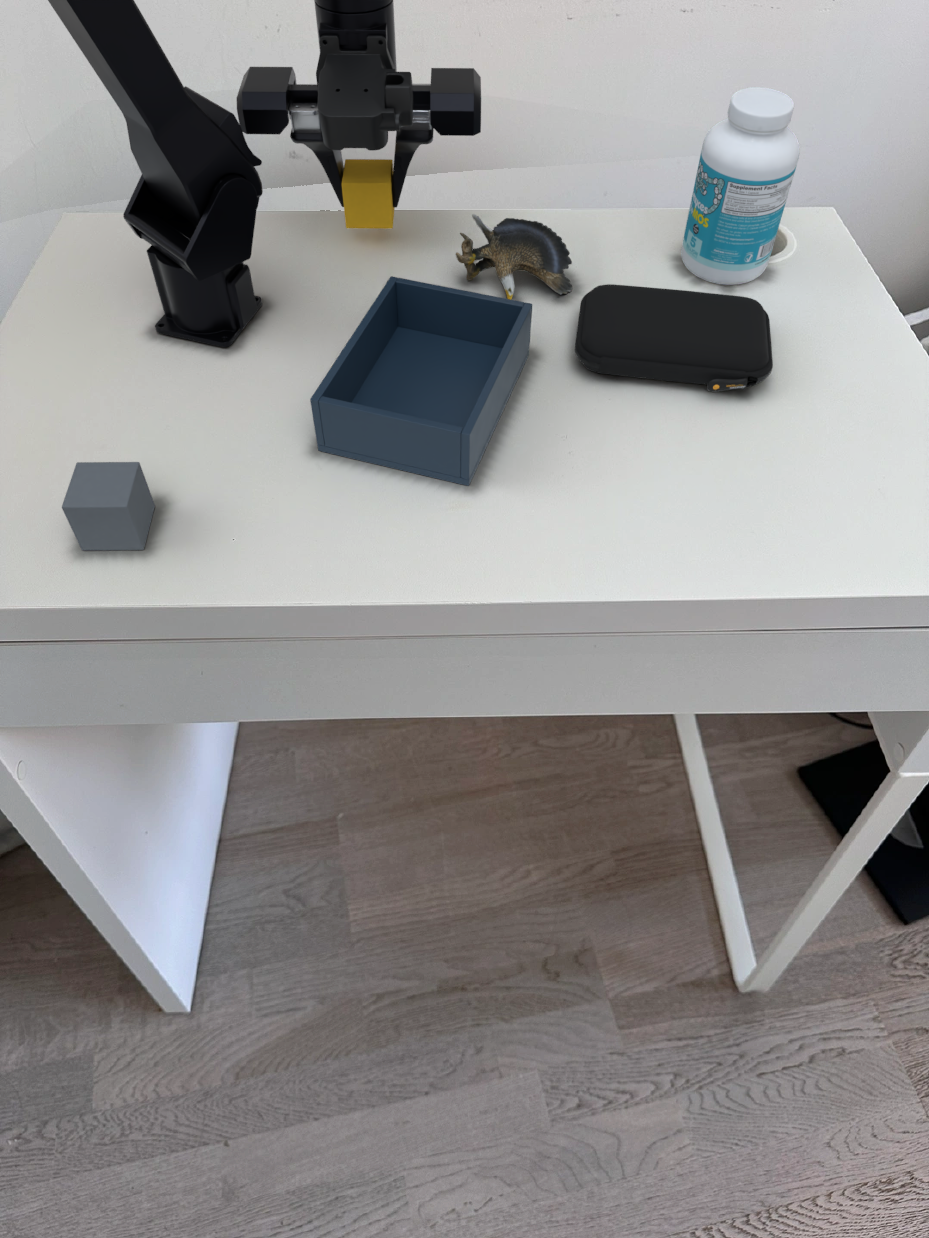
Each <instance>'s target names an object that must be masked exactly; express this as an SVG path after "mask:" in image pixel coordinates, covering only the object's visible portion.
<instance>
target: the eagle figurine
mask: <svg viewBox="0 0 929 1238" xmlns="http://www.w3.org/2000/svg"><path fill="white" fill-rule="evenodd" d="M471 218H472V219H473V221H474V222H475V224H476V226H477V227H478V228H479V229H480V230H481V232H482V234H483V235H484V237H485V239H486V240H487V243H486V244H484V245H482V246H479V247H476V248H475V247H474V240H473V239H471V237H469V236H468V235H467V234H465V233H463V232H459V235H460V236H461V238H463V241H462V242H461V254H460V253H459V252H455V257H456V260H457V261H458V263H460V264H463V266H464V268H465V269H466V276H465V277H466V280H467V282H470V281H473V280H474V278H476V277H477V276H478V275H479V274H480V273H481V272H482V271H484V270H488V269H491V268H494V269H495V274H496V275H497V277H498V279H499V281H500V283H501V284H502V286H503V289H504V292H505V294H506V299H511V300H513V296H514V294H515V280H514V272H518V271H522V272H526V273H528V274H529V275H532V276H534V277H535V278H537V279H539V280H540V281H542V282H543V283H544V284H545V285H547V286H548V287H549V288H550V289H551V290H552V291H554V292H555V293H556V294H557V295H559V296H562V295H563V294H564V295H567V294H568V293H571V292H572V291H573V288H574V285H573V284H572V283H571V282H572V281H571V279H570V278H568V277H567V276H566V274H565V273H564V270H568V269H569V267H570V265H572V264H573V261H572V259H571V257H570V254H571V253H570V250H569V249H568V248H567V244H566V243H565V242H564V241H563V237H561V235H558V233H557V232H555V231H554V230H553V229H552V228H551V227H548V225H546V224H543V222H539V221H536V220H530V219H529V220H527V219H524V218H521V219H520V218H514V217H505V218H504V219H503V220H501V221H499V223H497V224H496V225H495V226H494V227H493V229H492V228H490V227H489V226H488V225H487V224H485V223H484V222H483V220H482V218H480V216H479V215H477V214H475V213H472V214H471ZM475 261H477V262H476V263H475Z"/></svg>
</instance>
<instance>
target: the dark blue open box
mask: <svg viewBox="0 0 929 1238" xmlns="http://www.w3.org/2000/svg"><path fill="white" fill-rule="evenodd" d="M532 316H533V303H532V302H531V303H530V302H525V301H519V300H515V299H512V300H511V299H507V298H505V297H500V296H495V295H489V294H485V293H479V292H473V291H469V290H465V289H458V288H453V287H448V286H444V285H439V284H433V283H428V282H424V281H418V280H412V279H408V278H402V277H397V276H389V278H388V280H387V281H386V283H385V284H384V286H383V287H382V289H381V290H380V292H379V294H378V295H377V297H376V298H375V300H374V301H373V303H371V306H370V307H369V309H368V310H367V312H366V313H365V314H364V317H363V318H362V319H361V321H360V323H359V324H358V325H357V327H356V328H355V330H354V331H353V333H352V335H351V336H350V338H349V339H348V341H347V342H346V344H345V345H344V347H343V348H342V350H341V351H340V353H339V355H338V356H337V358H335V360H334V362H333V364H332V365H331V367H330V368H329V370H328V371H327V373H326V374H325V376H324V377H323V379H322V380H321V382H320V383H319V385H318V386H317V388H316V389H315V391H314V393H313V394H312V396H311V397H310V399H309V400H310V401H309V402H310V409H311V415H312V420H313V427H314V432H315V434H314V435H315V440H316V445H317V450H318V452H323V453H327V454H331V455H336V456H339V457H344V458H348V459H353V460H357V461H360V462H364V463H369V464H374V465H378V466H383V467H387V468H391V469H395V470H399V471H404V472H408V473H411V474H416V475H421V476H424V477H428V478H433V479H437V480H441V481H446V482H451V483H455V484H459V485H463V486H467V487H469V486H470V485H471V482H472V480H473V478H474V476H475V473H476V472H477V469H478V467H479V465H480V463H481V460H482V459H483V456H484V454H485V452H486V449H487V447H488V445H489V444H490V441H491V439H492V437H493V435H494V432H495V430H496V428H497V425H498V424H499V421H500V419H501V418H502V415H503V412H504V410H505V408H506V406H507V404H508V401H509V399H510V397H511V395H512V393H513V391H514V388H515V386H516V384H517V382H518V380H519V378H520V375H521V373H522V371H523V369H524V366H525V365H526V362H527V360H528V358H529V355H530V346H531V345H530V343H531V333H532V332H531V331H532Z"/></svg>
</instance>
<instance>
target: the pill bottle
mask: <svg viewBox="0 0 929 1238" xmlns="http://www.w3.org/2000/svg"><path fill="white" fill-rule="evenodd" d="M794 107H795V103H794V100H793V99H792V97H791V96H789V95H788V94H786V93H785V92H783V91H781V90H778V89H773V88H771V87H763V86H751V87H745V88H741V89H738V90H737V91H736V92H733V94H732V96H731V97H730V100H729V105H728V109H727V118H724V119H722V120H720V121H718V122H717V123H715V124H714V125H713V126H712V127H710V129H709V130H708V131H707V132H706V134H705V136H704V139H703V141H702V146H701V150H700V155H699V159H698V165H697V170H696V175H695V180H694V186H693V189H692V195H691V199H690V204H689V210H688V213H687V220H686V224H685V229H684V234H683V238H682V244H681V249H680V250H681V251H680V255H681V260H682V263H683V265H684V266H685V268H686V269H687V270H688V271H689V272H690V273H691V274H693V275H694V276H696V278H697V277H698V278H699V279H701V280H704V281H706V282H708V283H709V282H710V283H713V284H717V285H726V286H727V285H728V286H730V285H732V286H733V285H740V284H745V283H749V282H751V281H754V280H756V279H757V278H759V277H760V276H761V275H762V274H763V273H764V272H765V270H766V269H767V267H768V265H769V261H770V258H771V255H772V252H773V248H774V245H775V241H776V238H777V234H778V230H779V228H780V224H781V221H782V218H783V214H784V211H785V207H786V204H787V200H788V196H789V194H790V190H791V187H792V186H791V185H792V183H793V181H794V177H795V173H796V170H797V166H798V162H799V159H800V155H801V147H800V145H801V144H800V142H799V139H798V137H797V135H796V133H794V131H793V130H792V128H790V127H789V125H790V123H791V121H792V117H793V112H794V109H795V108H794Z"/></svg>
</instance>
